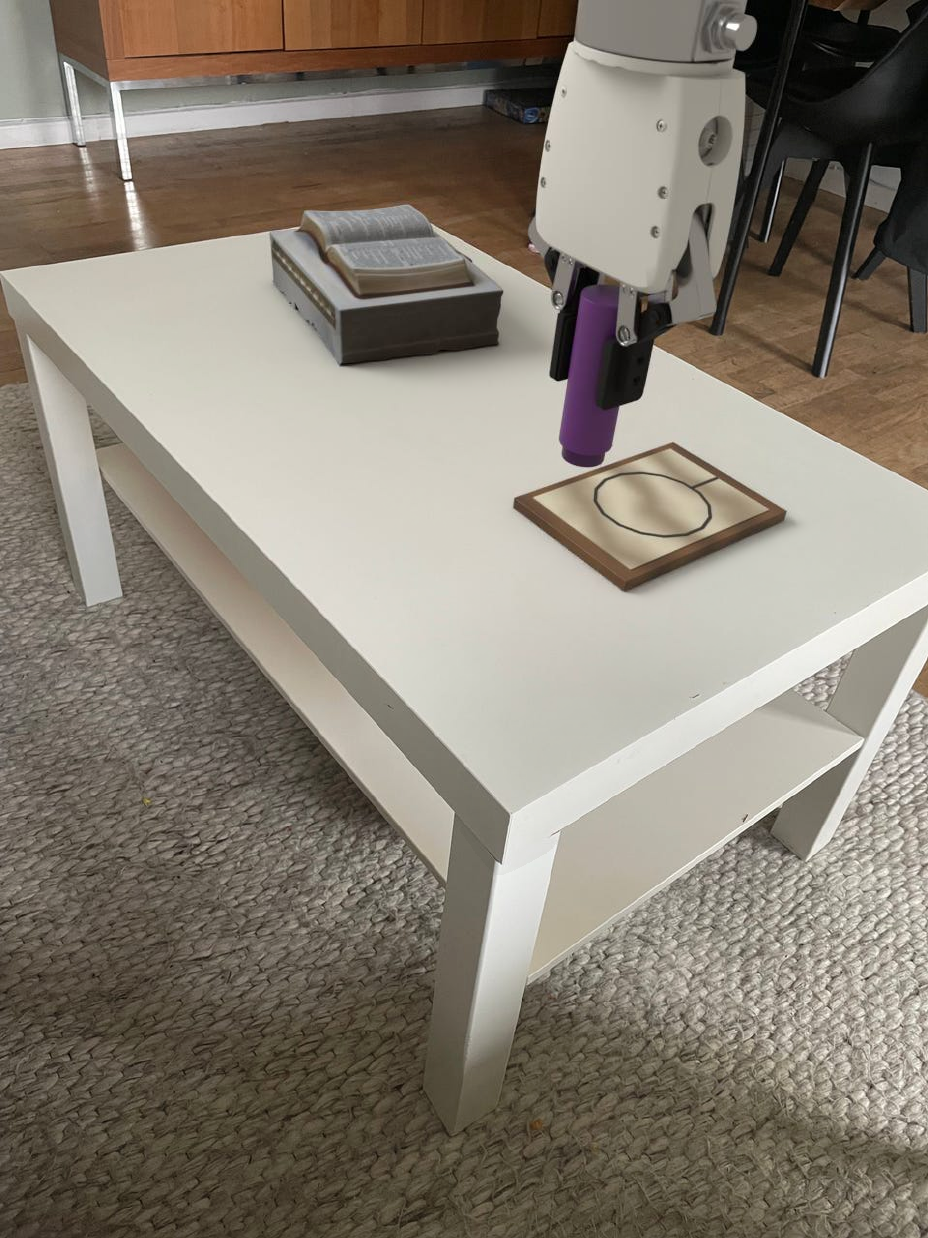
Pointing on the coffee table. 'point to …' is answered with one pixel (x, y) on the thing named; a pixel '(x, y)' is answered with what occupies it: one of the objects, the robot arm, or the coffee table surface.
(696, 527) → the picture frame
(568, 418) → the marker
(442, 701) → the coffee table surface
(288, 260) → the bible
